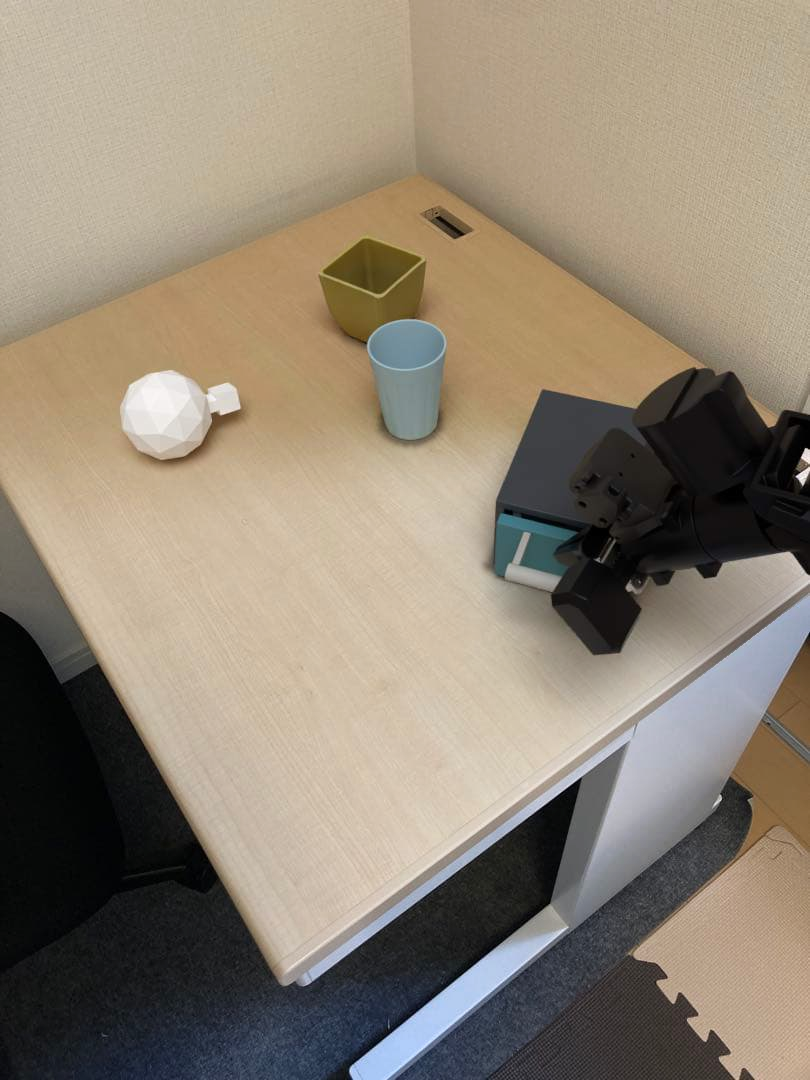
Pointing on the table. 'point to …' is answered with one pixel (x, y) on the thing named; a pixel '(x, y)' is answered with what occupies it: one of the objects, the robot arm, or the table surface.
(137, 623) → the table surface
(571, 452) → the drawer cabinet
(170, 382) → the perfume bottle
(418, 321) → the cup
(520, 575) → the teal drawer
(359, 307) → the flower pot
